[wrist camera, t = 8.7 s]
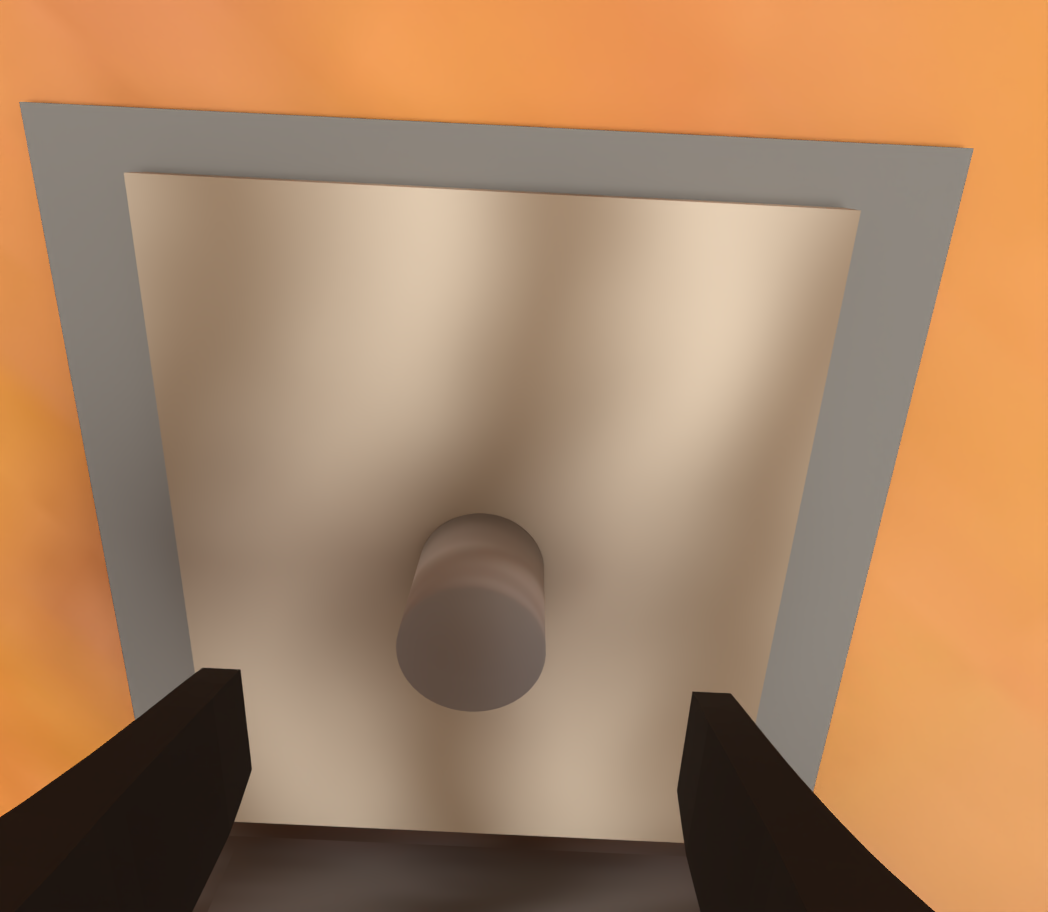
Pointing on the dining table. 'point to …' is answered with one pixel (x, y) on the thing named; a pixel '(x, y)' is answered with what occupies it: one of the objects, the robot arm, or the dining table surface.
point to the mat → (516, 165)
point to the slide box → (441, 872)
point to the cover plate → (481, 481)
